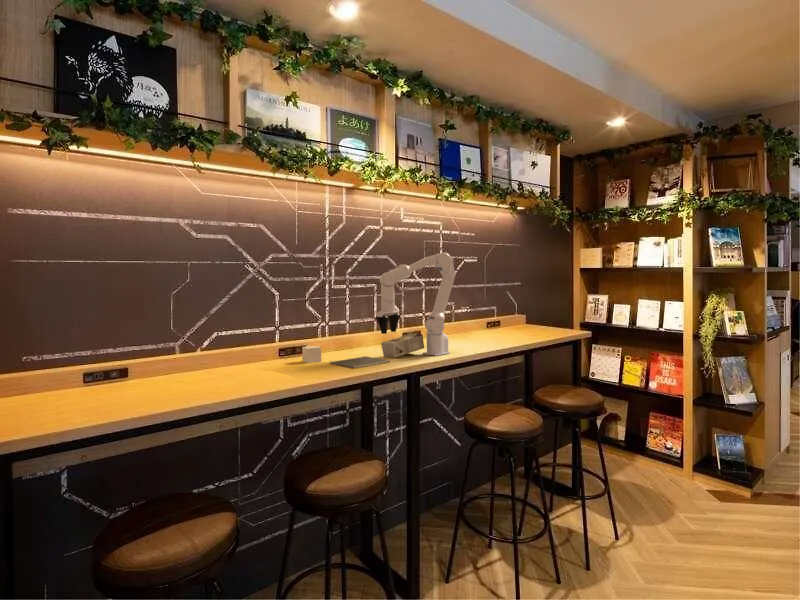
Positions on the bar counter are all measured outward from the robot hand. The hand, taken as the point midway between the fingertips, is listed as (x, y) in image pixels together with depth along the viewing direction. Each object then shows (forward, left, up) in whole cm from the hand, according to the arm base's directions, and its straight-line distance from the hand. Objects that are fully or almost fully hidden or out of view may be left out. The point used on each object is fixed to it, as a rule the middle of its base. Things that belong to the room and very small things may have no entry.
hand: (388, 332), depth 196 cm
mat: (+18, +3, -10) cm, 21 cm away
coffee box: (+3, +2, -7) cm, 8 cm away
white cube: (+29, -15, -11) cm, 34 cm away
